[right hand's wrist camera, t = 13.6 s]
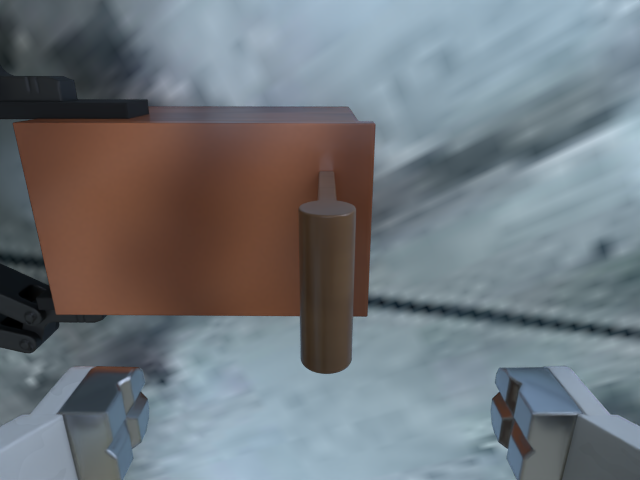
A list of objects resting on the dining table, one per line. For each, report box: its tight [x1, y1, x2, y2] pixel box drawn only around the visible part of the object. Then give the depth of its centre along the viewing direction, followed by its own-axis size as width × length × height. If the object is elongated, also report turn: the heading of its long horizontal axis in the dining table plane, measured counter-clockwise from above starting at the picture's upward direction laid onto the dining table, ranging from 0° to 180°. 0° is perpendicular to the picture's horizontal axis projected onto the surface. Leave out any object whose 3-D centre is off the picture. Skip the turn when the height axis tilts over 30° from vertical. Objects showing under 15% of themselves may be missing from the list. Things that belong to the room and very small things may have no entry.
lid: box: [13, 121, 375, 374], centre depth 19 cm, size 16×10×8 cm, turn 90°
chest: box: [28, 106, 358, 121], centre depth 27 cm, size 15×10×9 cm, turn 90°
